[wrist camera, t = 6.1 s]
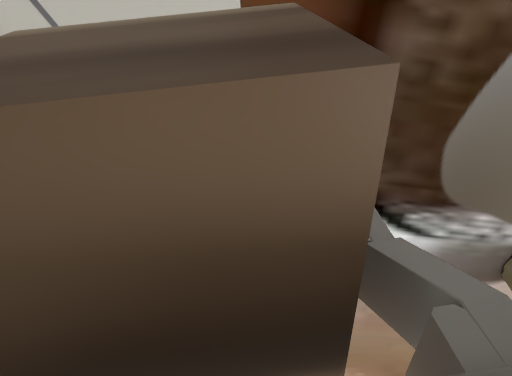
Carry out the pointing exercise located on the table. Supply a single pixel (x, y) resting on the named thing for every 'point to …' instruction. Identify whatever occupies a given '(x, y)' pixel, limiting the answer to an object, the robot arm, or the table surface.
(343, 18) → the table surface
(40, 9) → the marked board
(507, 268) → the flower pot
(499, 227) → the table surface
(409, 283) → the robot arm
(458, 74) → the table surface
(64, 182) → the block
